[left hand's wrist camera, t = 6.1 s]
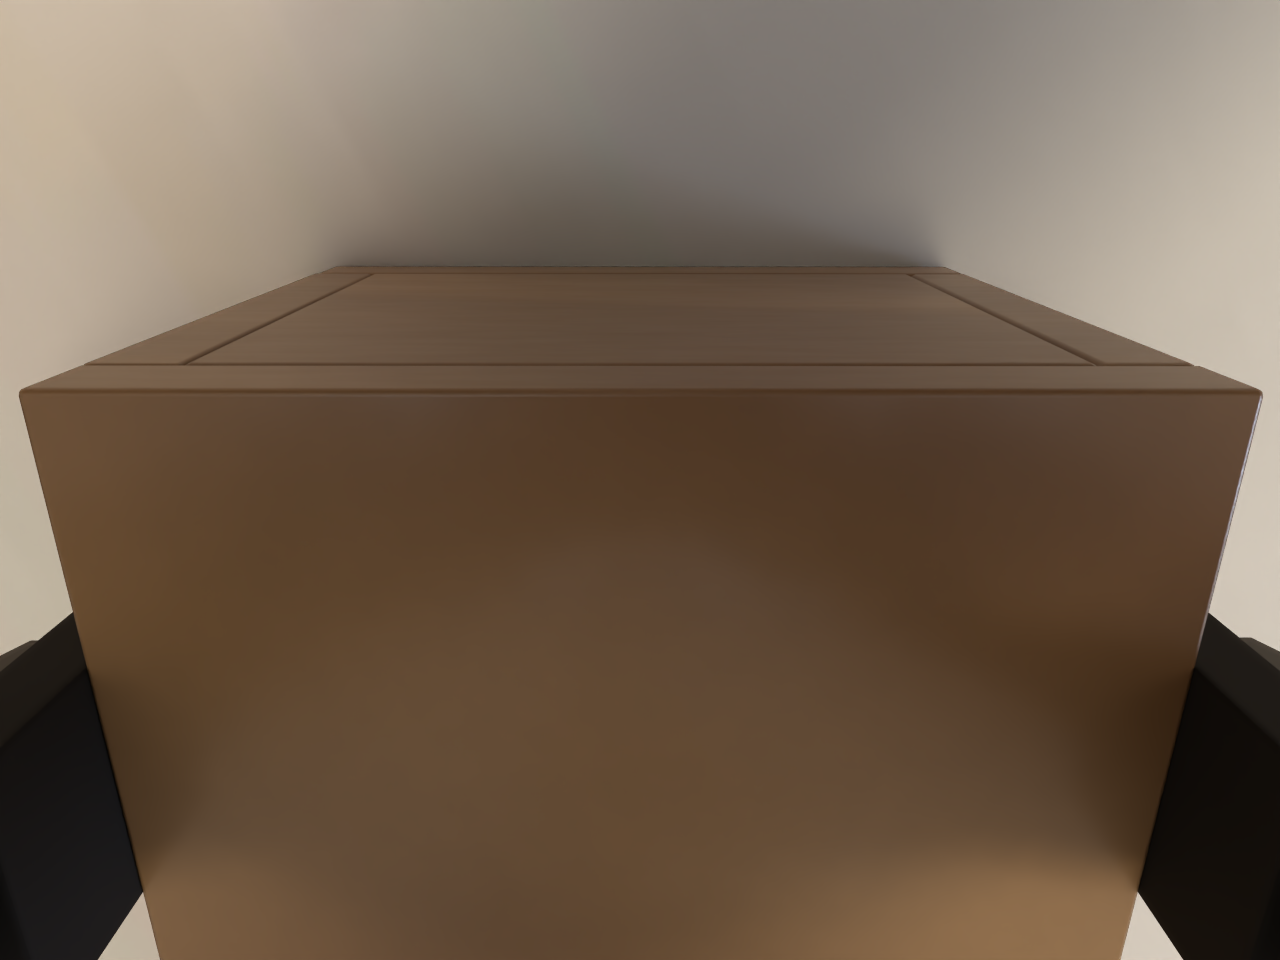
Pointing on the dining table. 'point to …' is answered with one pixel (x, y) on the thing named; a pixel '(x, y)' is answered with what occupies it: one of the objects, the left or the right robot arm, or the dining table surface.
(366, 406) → the brown wooden box
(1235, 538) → the dining table surface
